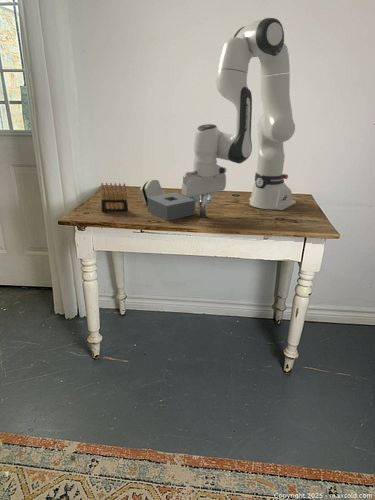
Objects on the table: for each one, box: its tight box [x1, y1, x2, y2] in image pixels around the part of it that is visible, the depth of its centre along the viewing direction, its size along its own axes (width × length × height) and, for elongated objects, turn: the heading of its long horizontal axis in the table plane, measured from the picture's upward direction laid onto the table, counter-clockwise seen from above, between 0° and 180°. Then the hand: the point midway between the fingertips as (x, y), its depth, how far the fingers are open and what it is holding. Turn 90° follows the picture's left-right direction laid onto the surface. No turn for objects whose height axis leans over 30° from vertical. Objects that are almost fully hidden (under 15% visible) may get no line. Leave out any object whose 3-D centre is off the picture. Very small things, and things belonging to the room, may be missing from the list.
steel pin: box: [198, 194, 209, 219], centre depth 138 cm, size 3×3×10 cm
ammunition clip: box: [100, 182, 129, 213], centre depth 141 cm, size 11×2×12 cm, turn 94°
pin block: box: [147, 191, 196, 222], centre depth 142 cm, size 14×14×6 cm
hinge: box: [139, 179, 167, 206], centre depth 158 cm, size 17×5×10 cm, turn 164°
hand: (203, 204), depth 138 cm, fingers open, 4 cm apart
